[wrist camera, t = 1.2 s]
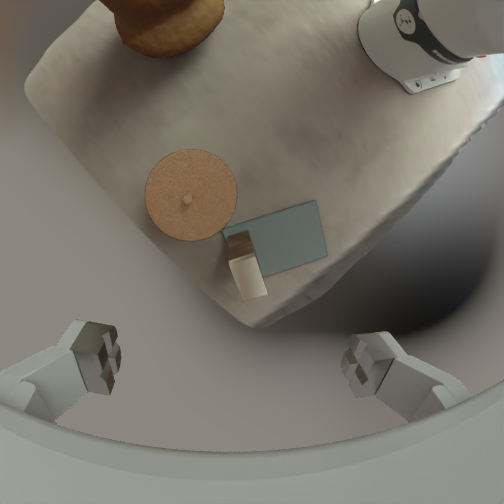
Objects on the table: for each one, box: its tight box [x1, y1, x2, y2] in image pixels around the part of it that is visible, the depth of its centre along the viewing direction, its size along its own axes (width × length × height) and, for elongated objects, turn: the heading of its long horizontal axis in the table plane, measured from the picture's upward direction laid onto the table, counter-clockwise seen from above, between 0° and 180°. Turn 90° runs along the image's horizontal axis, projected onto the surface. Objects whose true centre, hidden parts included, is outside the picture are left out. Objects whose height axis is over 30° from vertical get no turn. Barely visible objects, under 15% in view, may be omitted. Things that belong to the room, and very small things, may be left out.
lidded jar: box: [145, 149, 237, 241], centre depth 33 cm, size 11×11×9 cm
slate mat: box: [222, 200, 328, 277], centre depth 41 cm, size 14×9×1 cm, turn 107°
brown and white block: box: [228, 230, 268, 302], centre depth 36 cm, size 3×5×10 cm, turn 17°
